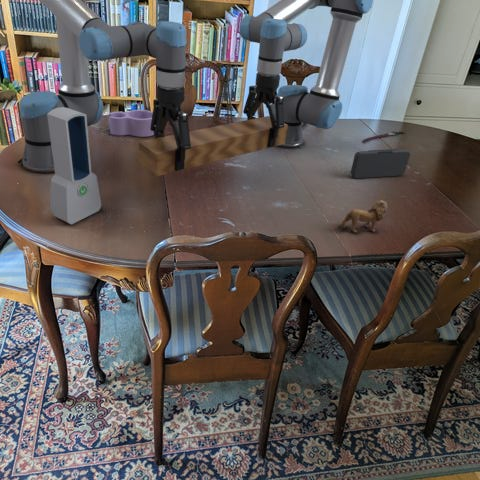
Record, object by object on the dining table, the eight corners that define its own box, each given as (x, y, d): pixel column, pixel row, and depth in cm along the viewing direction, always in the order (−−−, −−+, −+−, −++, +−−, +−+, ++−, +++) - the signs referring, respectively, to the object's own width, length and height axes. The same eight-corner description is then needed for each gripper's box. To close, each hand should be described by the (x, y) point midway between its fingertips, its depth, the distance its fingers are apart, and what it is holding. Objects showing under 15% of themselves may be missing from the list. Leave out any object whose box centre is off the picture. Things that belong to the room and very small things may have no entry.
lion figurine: (375, 222, 146) (382, 196, 141) (385, 230, 142) (393, 204, 137) (334, 226, 141) (341, 200, 136) (343, 236, 137) (350, 209, 132)
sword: (401, 130, 224) (401, 128, 224) (406, 132, 222) (407, 130, 222) (357, 141, 209) (358, 139, 208) (363, 144, 207) (363, 141, 206)
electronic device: (68, 226, 128) (55, 120, 112) (50, 217, 131) (34, 112, 115) (102, 209, 137) (94, 109, 121) (84, 201, 140) (74, 102, 124)
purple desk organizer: (111, 137, 184) (110, 120, 181) (108, 126, 194) (107, 110, 190) (162, 136, 191) (162, 119, 187) (156, 125, 200) (156, 109, 197)
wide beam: (156, 176, 130) (156, 153, 126) (138, 163, 136) (138, 141, 132) (284, 143, 160) (288, 124, 156) (265, 134, 166) (268, 115, 162)
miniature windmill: (228, 130, 204) (234, 58, 188) (210, 127, 205) (214, 55, 189) (233, 123, 211) (239, 54, 195) (215, 120, 212) (219, 51, 196)
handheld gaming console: (400, 172, 181) (407, 148, 176) (404, 175, 179) (412, 151, 174) (348, 175, 174) (354, 150, 169) (352, 179, 172) (358, 153, 167)
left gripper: (207, 96, 120) (202, 174, 132) (160, 73, 133) (159, 147, 146) (183, 99, 116) (180, 180, 128) (136, 76, 129) (138, 151, 141)
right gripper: (302, 81, 142) (291, 150, 154) (252, 63, 155) (246, 128, 167) (285, 84, 137) (276, 155, 149) (236, 66, 150) (230, 132, 163)
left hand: (169, 162), depth 137 cm, fingers closed on wide beam, 10 cm apart
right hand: (260, 141), depth 158 cm, fingers closed on wide beam, 10 cm apart
